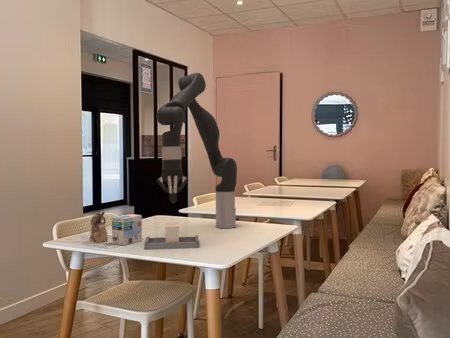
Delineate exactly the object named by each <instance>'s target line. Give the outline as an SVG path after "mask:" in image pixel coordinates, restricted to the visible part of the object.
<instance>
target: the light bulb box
mask: <svg viewBox="0 0 450 338" xmlns="http://www.w3.org/2000/svg"><path fill="white" fill-rule="evenodd" d="M142 217H143V216H142V215H141V214H133V213H129V214H128V213H127V214H124V215H118V216H112V217H111V239H112V241H111V242H112V245H113V244H114V245H119V246H127V245H128V246H129V245H131V244H135V243H139V242H140V243H141V242H142V241H143V230H142V229H143V228H142V227H143V222H142V221H143V218H142Z"/></svg>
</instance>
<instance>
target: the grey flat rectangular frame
mask: <svg viewBox="0 0 450 338" xmlns="http://www.w3.org/2000/svg"><path fill="white" fill-rule="evenodd" d="M143 246H144V250H164V249H165V250H169V249H195V248H196V249H199V248H200V238H199V235H198V234H195V235H193V236H179V242H174V243H166V239H165V236H164V237H150V236H146V237H145V240H144V242H143Z"/></svg>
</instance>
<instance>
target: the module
mask: <svg viewBox="0 0 450 338" xmlns="http://www.w3.org/2000/svg"><path fill="white" fill-rule="evenodd" d="M179 226H180V225H179V223H178V222H172V223H171V222H170V223H169V222H167V223H165V226H164V231H165V233H164V235H165V236H164V237H165V239H166V243H174V242H179V237H180V236H179V234H180V232H179V231H180V227H179Z"/></svg>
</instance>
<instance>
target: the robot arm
mask: <svg viewBox="0 0 450 338" xmlns="http://www.w3.org/2000/svg"><path fill="white" fill-rule="evenodd" d="M177 82H178V83H177V84H178V89H179V91H178V92H177V93H176V94H175V95H174V96H173V97H172V98H171V99H170V101H168V102H166V103H165V104H162V106H161V107H159V108H158V110H157V112H156V121H157V123H158V124H159V125H160V126H173V127H172V128H171V129H170V130H167V131H164V132H163V133H162V134H161V135H162V136H161V141H162V149H161V160H162V161H161V163H162V165H161V167H162V173H161V176H160V177H159V178H157V179H156V183H157V184H158V186H160V188H161V189H162V190H163V191H164V192H165V193H168V194H169V195H168V197H169V202H170V203H171V204H173V203H174V204H175V203H176V202H178V193H180V192H182V190H183V189H184V187H185V186H186V185H187V183H188V182H189V178H187V177H186V176H184V173H183V165H182V164H183V163H182V162H183V160H182V157H183V156H182V149H181V148H182V147H181V145H182V144H181V134H182V129H183V124H184V121H185V111H186V110H187V109H189V111H190V114H191V116H192V118H193V122H194V123H195V126H196V129H197V131H198V134H199V136H200V138H201V140H202V143H203V146H204V148H205V151H206V154H207V157H208V161H209V164H210V167H211V170H212V173H213V174H214V175H215V176H216V177H219V178H221V181H220V182H219V183H218V184H217V185H215V228H218V229H232V228H233V227H234V228H236V227H237V224H236V221H237V215H236V212H237V211H236V208H237V207H236V199H235V198H236V193H235V192H236V185H237V179H238V177H237V174H238V167H237V163H236V160H235V159H234V158H231V157H223V156H222V154H221V151H220V148H219V146H220V145H219V142H220V141H219V140H220V129H219V126H218V123H217V121H216V119H215V117H214V115H212V114H211V113H210V112H209V111H208V110H207V109H205V108H204V107H202V106H201V105H200V104H199V102H198V101H197V97H199V95H201V94H203V93H204V92H205V90H206V87H207V84H206V79H205V78H204V76H203V74H202V73H200V72H193V73H190V74H188V75H185V76H182V77H180V78H179V79H178V81H177ZM181 180H182V182H181V184H180V186H179V187H178V184H179V183H180V181H181ZM163 182H165V183H166V184H167V185H168V188H167V187H166V185H165V184H164V183H163ZM172 185H173V186H172Z"/></svg>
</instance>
